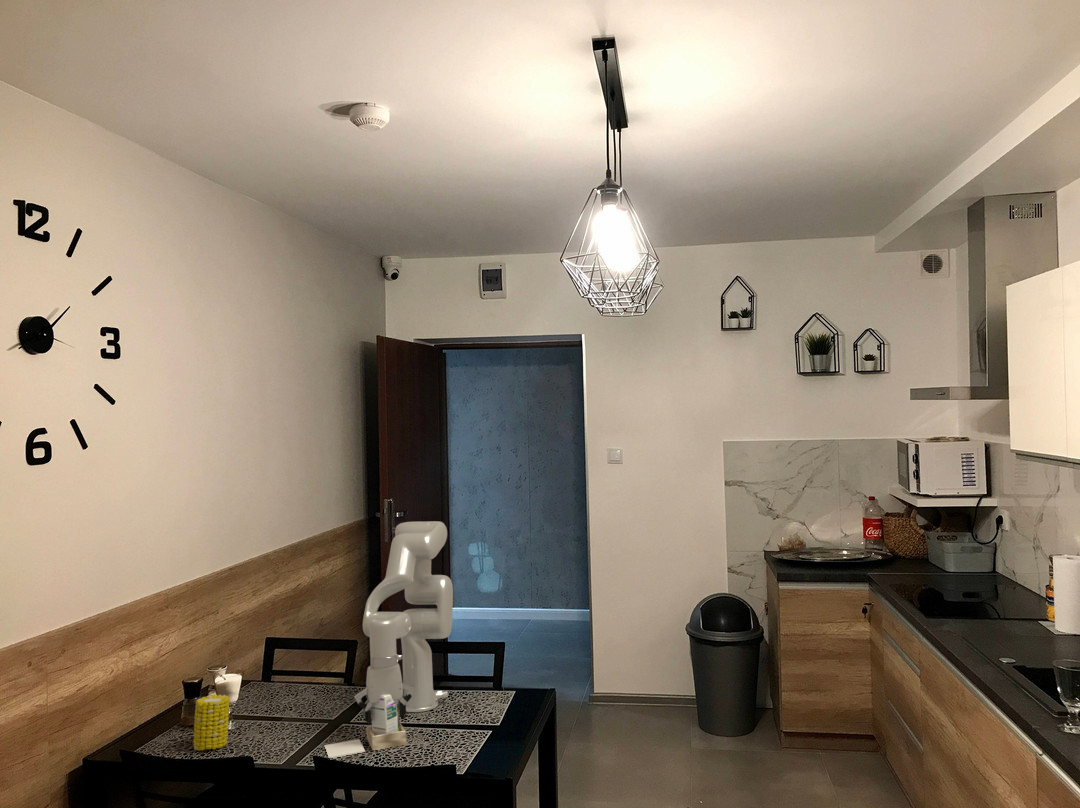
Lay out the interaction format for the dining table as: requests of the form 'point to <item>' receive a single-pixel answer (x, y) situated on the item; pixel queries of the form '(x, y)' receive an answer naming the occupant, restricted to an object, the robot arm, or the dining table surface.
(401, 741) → the wooden tray
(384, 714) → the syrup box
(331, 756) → the plate
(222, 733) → the food
